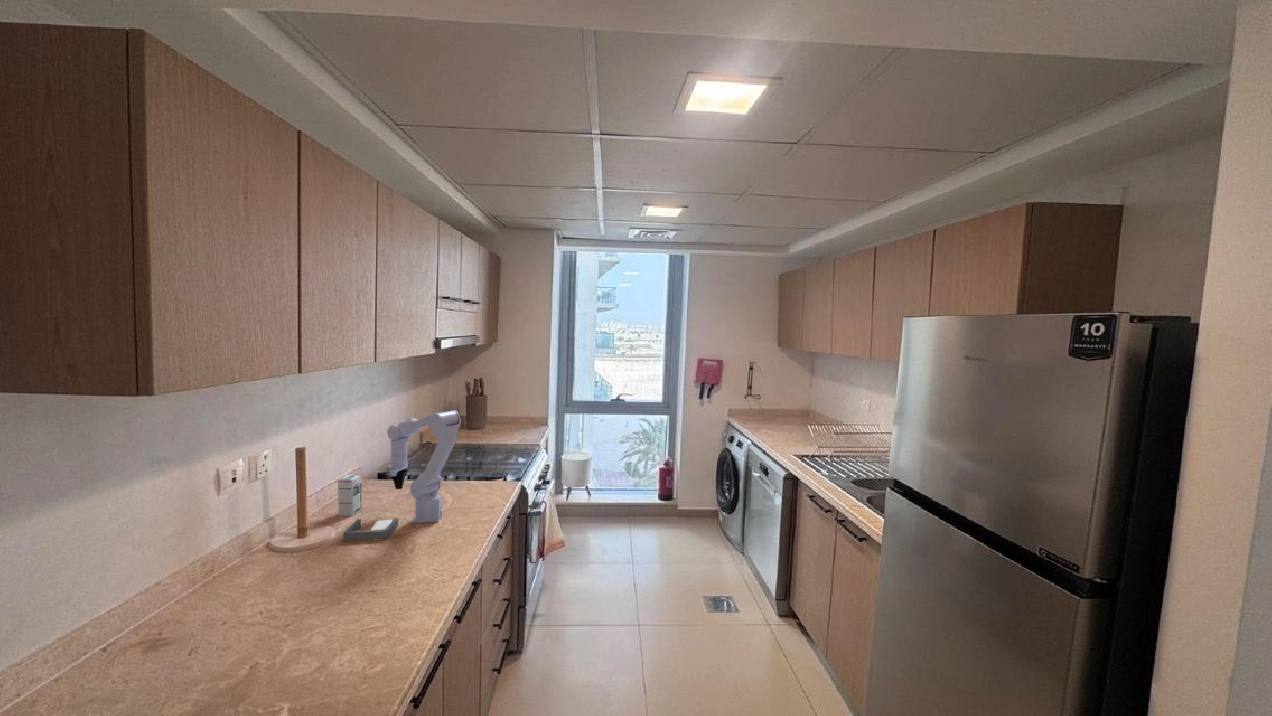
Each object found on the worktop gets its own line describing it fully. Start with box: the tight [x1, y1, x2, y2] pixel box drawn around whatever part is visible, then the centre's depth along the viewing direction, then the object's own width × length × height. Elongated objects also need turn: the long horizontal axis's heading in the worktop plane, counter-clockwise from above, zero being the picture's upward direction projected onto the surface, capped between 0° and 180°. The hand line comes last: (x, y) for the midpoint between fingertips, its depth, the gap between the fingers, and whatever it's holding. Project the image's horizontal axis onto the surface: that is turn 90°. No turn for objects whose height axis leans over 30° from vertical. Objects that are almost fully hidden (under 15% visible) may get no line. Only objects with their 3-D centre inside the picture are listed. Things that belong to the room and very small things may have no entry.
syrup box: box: [337, 474, 363, 517], centre depth 189 cm, size 6×6×14 cm
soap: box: [370, 519, 393, 530], centre depth 173 cm, size 9×6×3 cm, turn 13°
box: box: [342, 517, 399, 542], centre depth 172 cm, size 14×12×3 cm
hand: (399, 488), depth 191 cm, fingers closed
